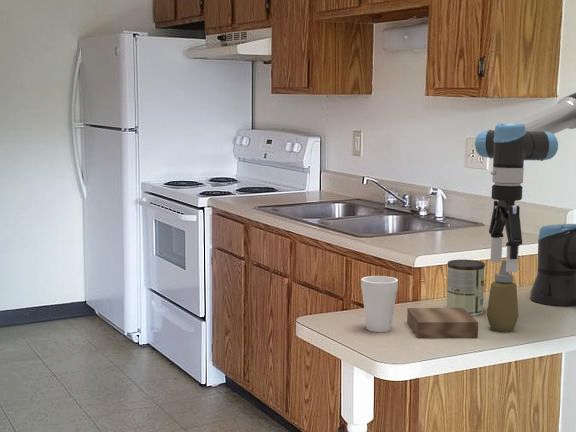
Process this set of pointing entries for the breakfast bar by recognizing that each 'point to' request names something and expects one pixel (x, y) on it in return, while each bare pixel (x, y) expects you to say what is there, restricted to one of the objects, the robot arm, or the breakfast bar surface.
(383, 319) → the foam cup
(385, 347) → the breakfast bar surface
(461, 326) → the walnut base
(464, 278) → the coffee can
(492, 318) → the squeeze bottle
